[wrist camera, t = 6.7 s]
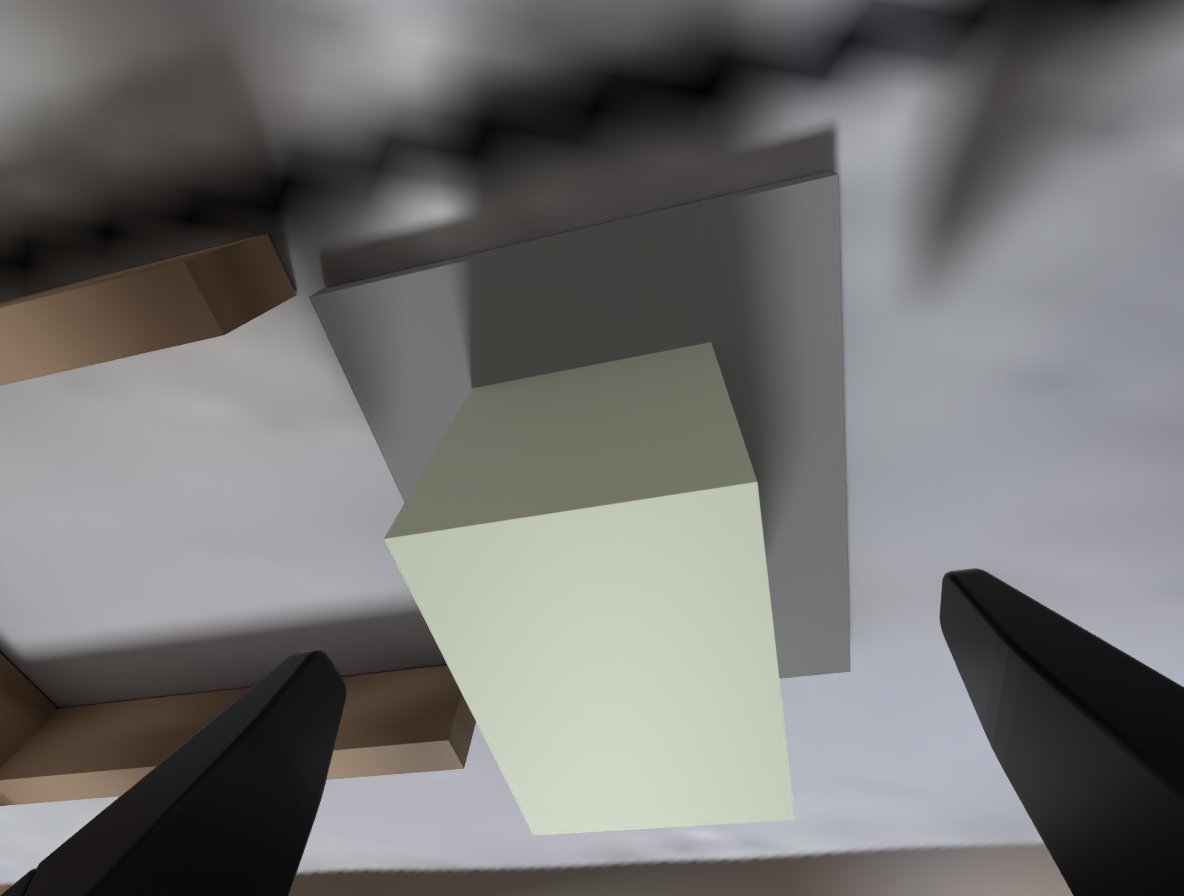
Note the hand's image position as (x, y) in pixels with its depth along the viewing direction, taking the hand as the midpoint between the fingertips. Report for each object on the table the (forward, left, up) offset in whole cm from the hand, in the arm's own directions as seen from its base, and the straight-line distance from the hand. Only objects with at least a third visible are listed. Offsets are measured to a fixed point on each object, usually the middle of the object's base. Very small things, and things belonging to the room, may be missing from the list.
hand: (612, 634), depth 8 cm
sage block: (0, 0, -3) cm, 3 cm away
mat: (0, 0, -3) cm, 3 cm away
